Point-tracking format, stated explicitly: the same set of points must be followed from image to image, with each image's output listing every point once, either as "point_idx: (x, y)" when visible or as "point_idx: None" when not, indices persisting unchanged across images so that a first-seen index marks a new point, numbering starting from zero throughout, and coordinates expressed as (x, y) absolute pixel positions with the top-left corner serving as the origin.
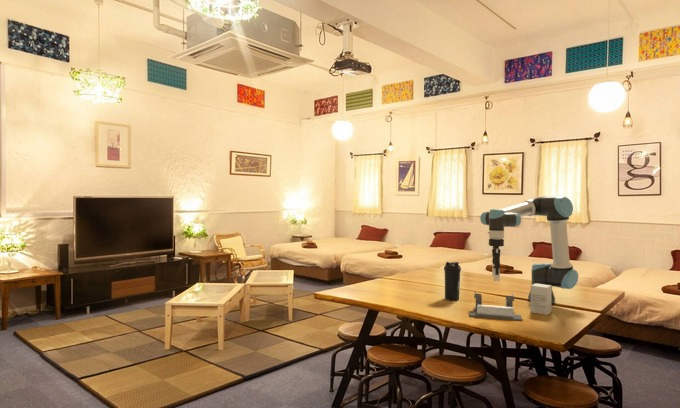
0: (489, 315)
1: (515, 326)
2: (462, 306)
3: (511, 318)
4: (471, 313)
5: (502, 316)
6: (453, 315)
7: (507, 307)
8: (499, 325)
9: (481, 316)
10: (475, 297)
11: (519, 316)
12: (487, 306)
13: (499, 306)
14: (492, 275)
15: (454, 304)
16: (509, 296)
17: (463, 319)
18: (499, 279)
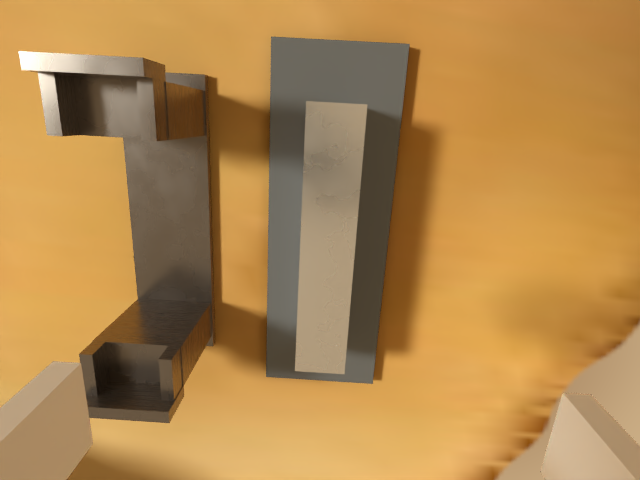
0: None
1: (565, 126)
2: None
3: (399, 128)
4: None
5: None
6: (365, 452)
7: (332, 154)
8: (551, 229)
9: (379, 318)
10: (181, 393)
11: (322, 53)
12: (340, 308)
13: (314, 217)
14: (80, 456)
15: None
16: (60, 98)
17: (443, 411)
18: (611, 420)
